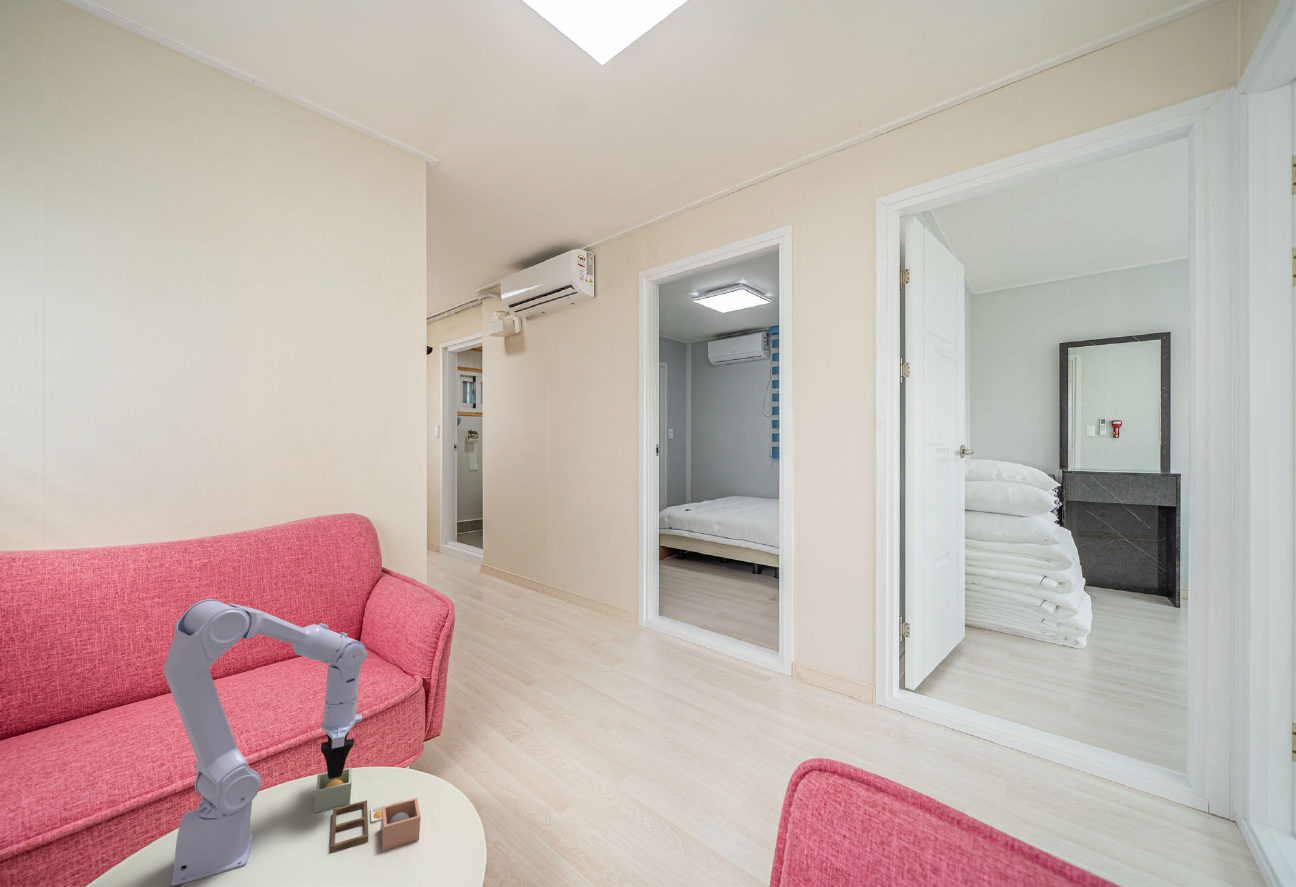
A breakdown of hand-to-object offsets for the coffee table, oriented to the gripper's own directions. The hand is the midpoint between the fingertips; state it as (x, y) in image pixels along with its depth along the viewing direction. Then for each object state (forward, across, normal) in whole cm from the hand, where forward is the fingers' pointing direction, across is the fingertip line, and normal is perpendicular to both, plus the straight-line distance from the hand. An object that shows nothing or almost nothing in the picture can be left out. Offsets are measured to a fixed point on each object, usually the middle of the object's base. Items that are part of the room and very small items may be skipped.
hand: (335, 766), depth 101 cm
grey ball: (+5, -16, -11) cm, 20 cm away
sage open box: (+6, 0, 0) cm, 6 cm away
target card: (+6, -9, -10) cm, 15 cm away
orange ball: (+5, 0, 0) cm, 5 cm away
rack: (+6, -10, -3) cm, 13 cm away
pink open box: (+6, -16, -11) cm, 21 cm away
